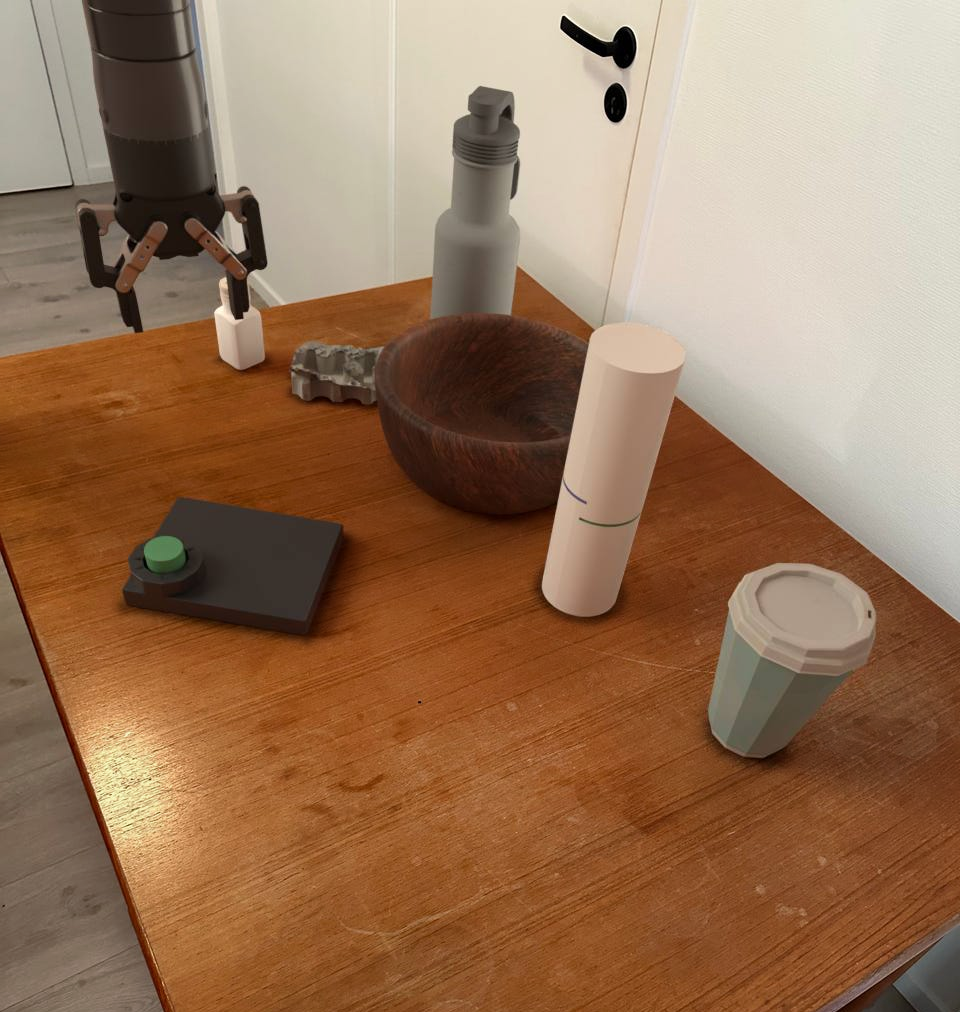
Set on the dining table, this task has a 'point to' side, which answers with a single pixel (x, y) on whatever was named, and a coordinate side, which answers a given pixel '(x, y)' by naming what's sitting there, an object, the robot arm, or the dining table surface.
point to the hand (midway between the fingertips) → (187, 322)
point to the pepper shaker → (239, 333)
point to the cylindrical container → (610, 463)
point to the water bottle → (479, 212)
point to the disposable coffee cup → (786, 653)
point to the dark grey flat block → (239, 566)
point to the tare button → (164, 555)
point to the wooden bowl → (481, 408)
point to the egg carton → (334, 372)
